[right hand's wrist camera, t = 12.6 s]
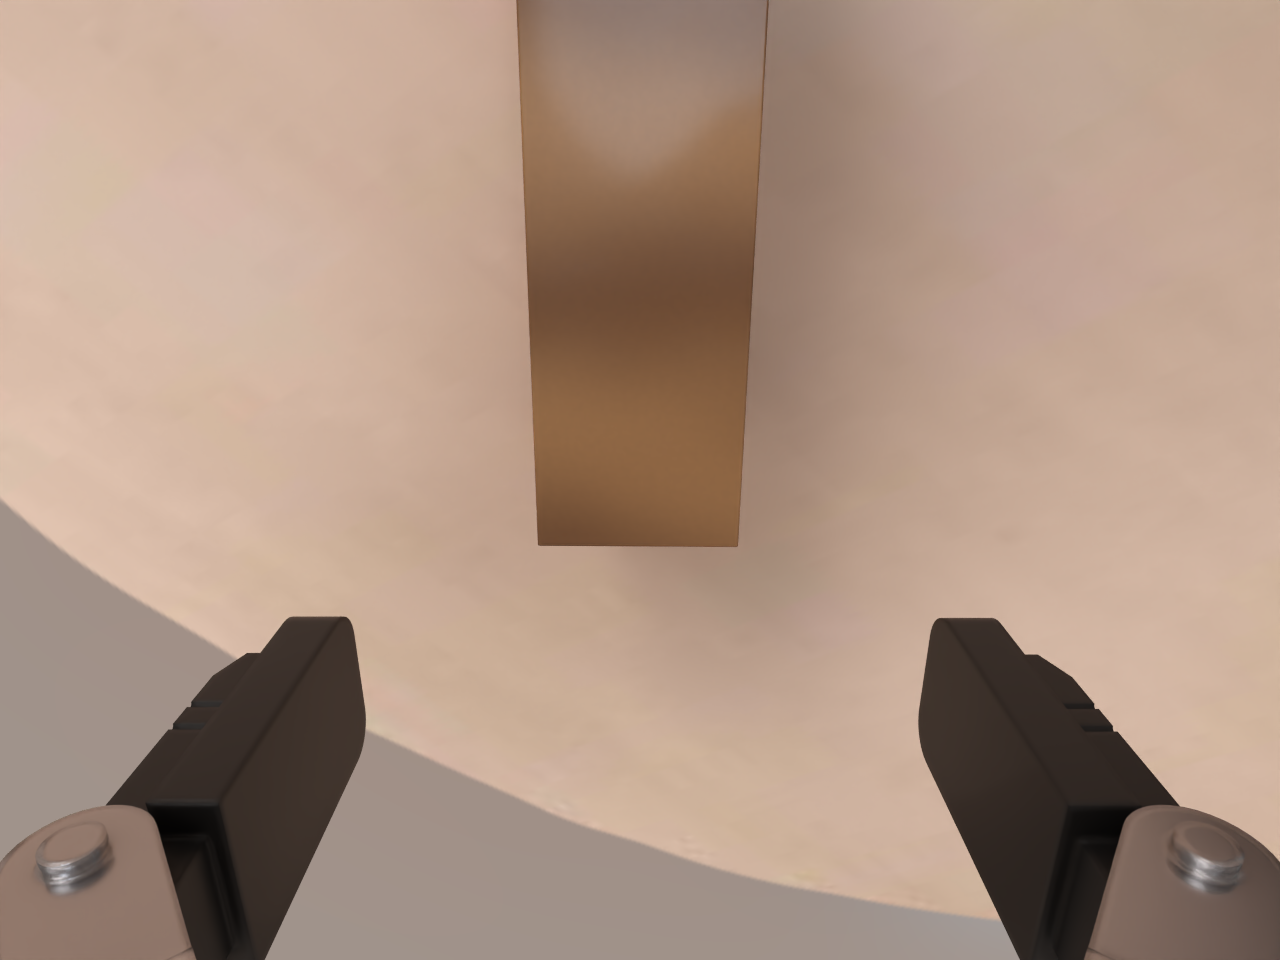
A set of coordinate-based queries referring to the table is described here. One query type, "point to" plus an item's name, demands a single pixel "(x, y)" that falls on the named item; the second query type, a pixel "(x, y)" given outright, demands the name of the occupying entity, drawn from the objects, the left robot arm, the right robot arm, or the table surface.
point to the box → (640, 262)
